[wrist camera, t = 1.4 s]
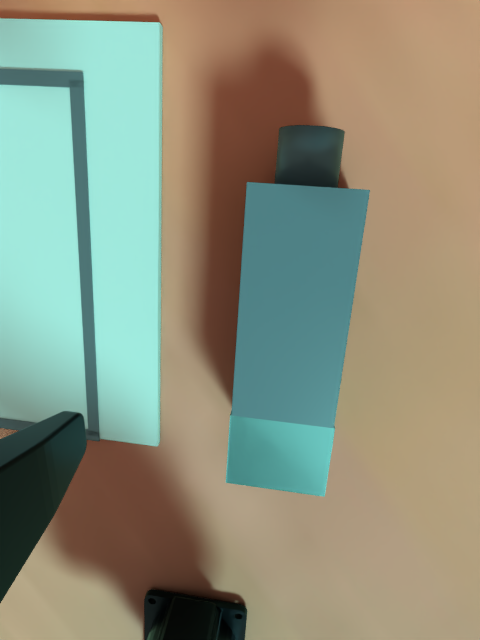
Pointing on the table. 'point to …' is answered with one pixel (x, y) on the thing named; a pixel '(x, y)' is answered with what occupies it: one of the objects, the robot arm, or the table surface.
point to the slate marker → (294, 314)
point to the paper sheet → (81, 225)
